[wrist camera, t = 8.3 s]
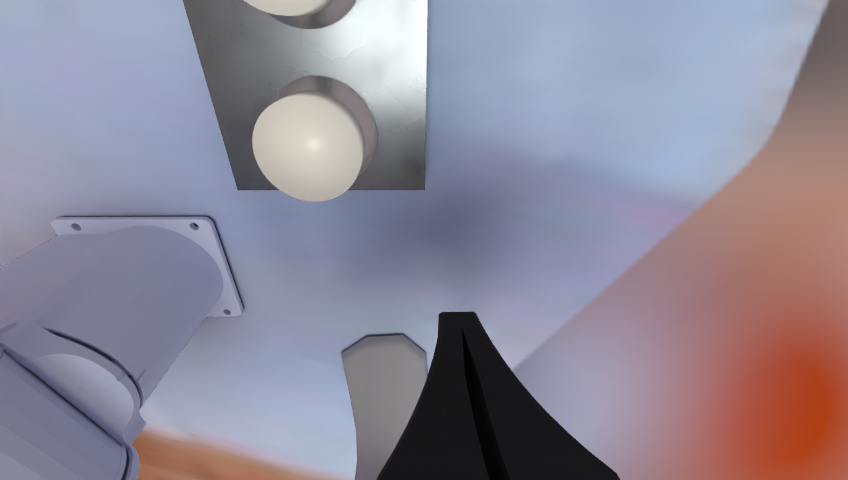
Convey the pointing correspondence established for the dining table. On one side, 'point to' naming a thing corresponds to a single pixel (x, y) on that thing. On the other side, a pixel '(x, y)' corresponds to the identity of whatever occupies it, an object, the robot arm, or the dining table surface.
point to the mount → (321, 78)
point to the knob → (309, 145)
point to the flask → (382, 395)
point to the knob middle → (290, 6)
